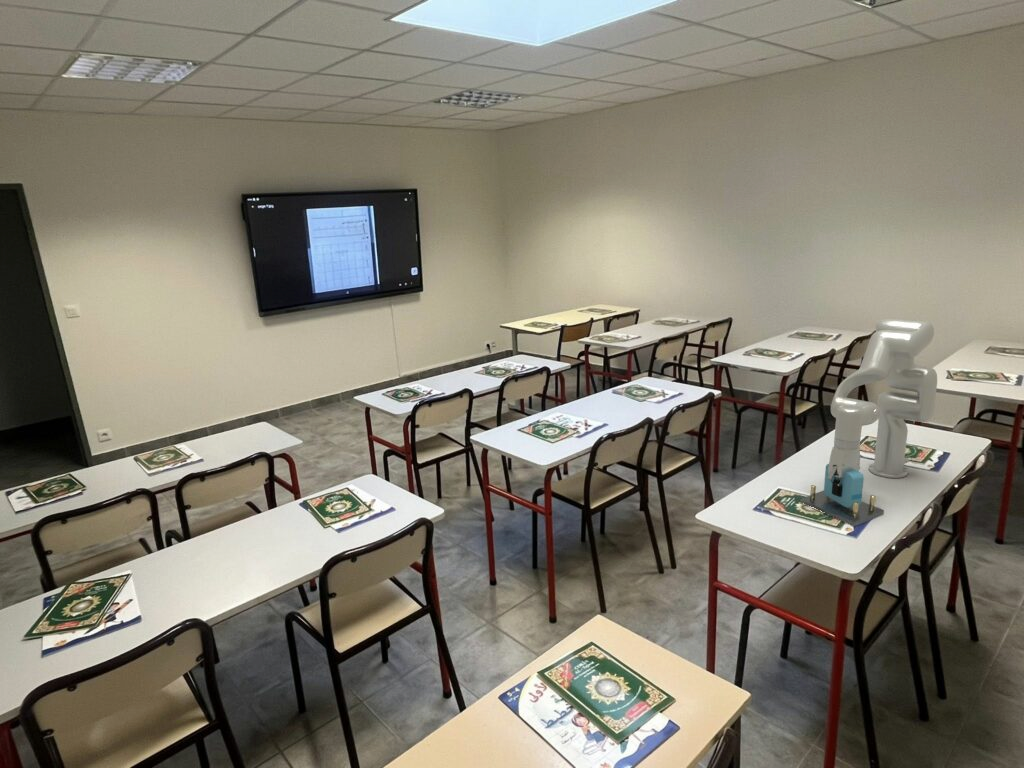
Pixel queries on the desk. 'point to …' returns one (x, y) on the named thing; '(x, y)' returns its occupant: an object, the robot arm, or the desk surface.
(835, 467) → the robot arm
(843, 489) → the data package
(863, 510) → the plate
